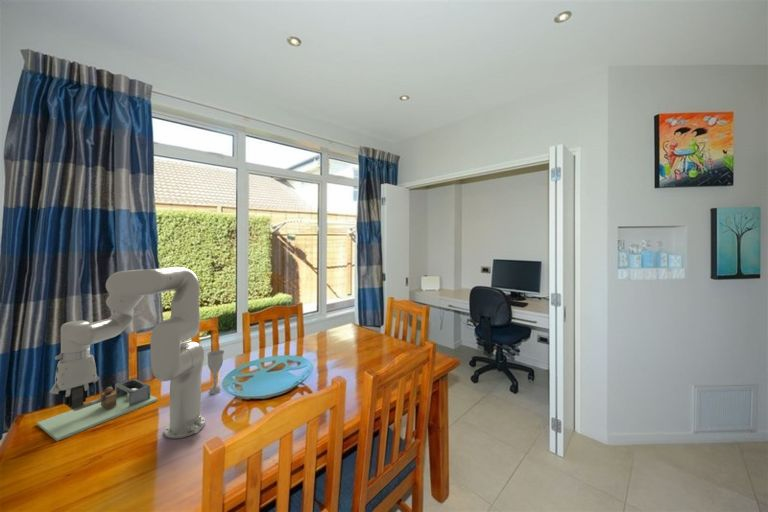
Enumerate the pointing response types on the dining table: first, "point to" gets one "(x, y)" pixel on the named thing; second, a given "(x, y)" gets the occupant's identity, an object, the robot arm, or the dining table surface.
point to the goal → (136, 395)
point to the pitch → (87, 417)
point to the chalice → (215, 367)
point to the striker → (106, 400)
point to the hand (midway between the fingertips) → (76, 402)
